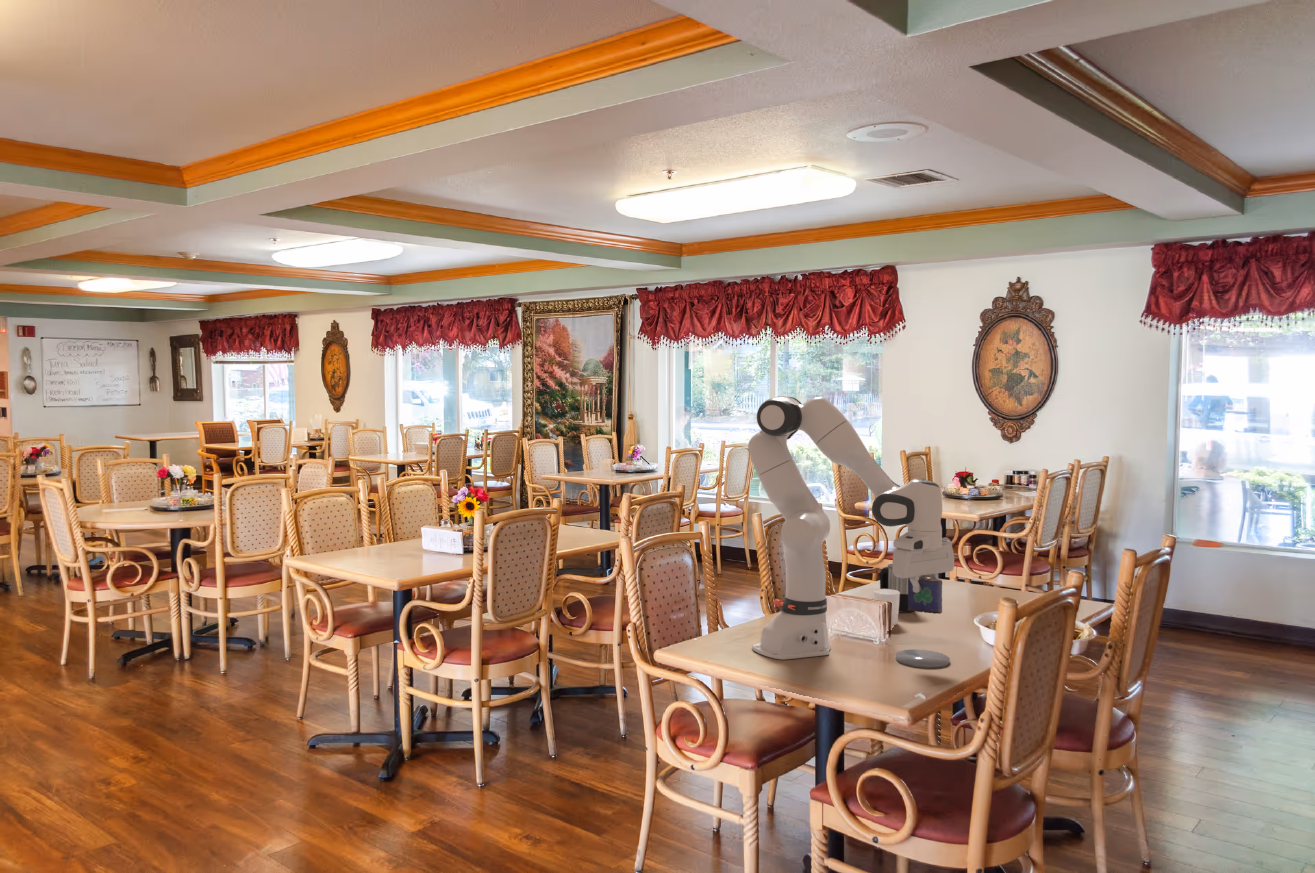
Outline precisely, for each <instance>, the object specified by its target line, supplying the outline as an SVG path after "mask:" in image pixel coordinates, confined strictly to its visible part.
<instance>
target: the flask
mask: <svg viewBox="0 0 1315 873" xmlns="http://www.w3.org/2000/svg"><path fill="white" fill-rule="evenodd" d="M918 583H919V585H920V586H922V589H921V590H922V591H921V592H918V593H916V592H913V585H912V583H911V581H910V577H909V578H908V610H910V611H913V612H917V613H927V614H933V615H935V614H938V615H939V614H940V615H941V614H942V613H943V580H942V579H930V578H928V575H923V576H919V580H918Z"/></svg>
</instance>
